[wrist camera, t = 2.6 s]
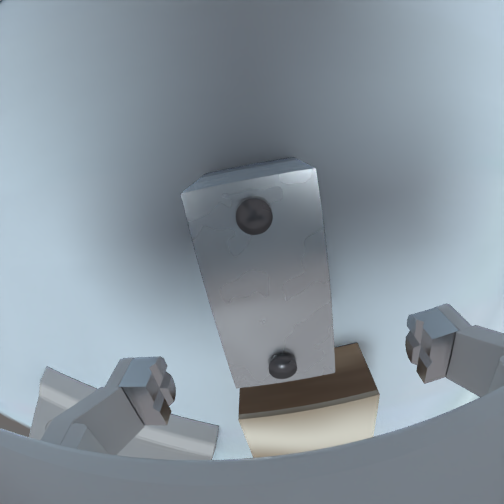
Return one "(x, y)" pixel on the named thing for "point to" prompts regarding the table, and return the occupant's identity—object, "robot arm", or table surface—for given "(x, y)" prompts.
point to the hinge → (145, 442)
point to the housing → (265, 269)
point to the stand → (311, 409)
